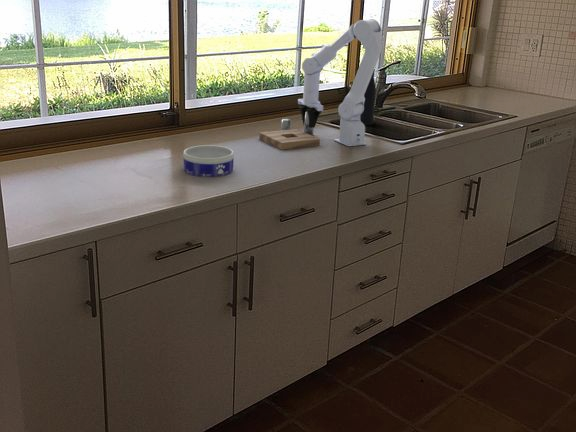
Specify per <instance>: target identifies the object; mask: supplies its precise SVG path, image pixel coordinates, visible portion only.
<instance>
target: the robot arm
mask: <svg viewBox="0 0 576 432" xmlns="http://www.w3.org/2000/svg"><path fill="white" fill-rule="evenodd" d="M382 32H383V29H382V27H381V25H380V23H379V22H378V21H377V20H376V19H374V18H370V19H369V18H368V19H365V20H364V19H360V20H357V21H356V22H355V23H354V24H351V25H350V26H349V27H348V28H347V29H346V30H345V31H344V32H342V34H341V35H340V36H338V37H337V38H336V39H335V41H332V43H330V44H329V43H328V44H327V43H326V44H322V45H321V46H319V47H320V49H319V50H318V51H316V52H315V53H312V54H311V57H307V58H305V59H304V60H303V61H302V64H301V69H302V71H303V72H304V75H303V76H304V79H303V95H302V98H298V99H297V104H298V105H300V106H298V110H299V112H300V115H301V119H302V123H303V126H304V124H305V111H307V112H308V117H309V127H310V128H316V124H317V121H318V118H319V116H320V115H321V113H322V112H323V111H324V105H322V104H321V101H319V95H320V94H319V93H320V92H319V91H320V80H321V79H320V78H321V77H320V76H321V72H322V71H323V69H324V67H326V66H327V64H329V63H330V62H332V61H333V60H334V59H336V57H337V52H338V51H340V50H341V49H342V48H344V47H345V46H346V45H347V44H350V43H351V42H352V41H353V40H356V39H357V40H358V41H359V42H360V43H361V44H362V46H363V49H364V51H365V52H364V53H363V56H362V59H361V62H360V64H359V67H358V69H357V72H356V75H355V77H354V80H353V82H352V85H351V88H350V90H349V92H348V93H347V95H346V96H345V97H344V99H343V101H342V102H341V103H340V104H339V105H338V108H337V110H338V116H340V118H339V119H340V123H339V135H338V136H339V137H338V138H334V139H333V141H335V142H338V143H339V144H342V145H344V146H347V147H355V146H363V145H365V146H366V145H367V143H366V142H365V136H366V135H365V133H366V125H364V124H363V123H362V122H361V120H360V114H362V112H363V111H364V101H365V97H364V94H365V91H366V89H367V86H368V84H369V81H370V79H371V76H372V74H373V71H374V72H375V69H376V66H377V63H378V61H379V58H380V56H381V53H382V51H383V42H382Z"/></svg>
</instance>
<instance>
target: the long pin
mask: <svg viewBox="0 0 576 432" xmlns="http://www.w3.org/2000/svg"><path fill="white" fill-rule="evenodd" d="M314 128H315V127H314ZM314 128H310V127H309V117H308V112H307V111H305V124H304V125H303V132H305V133H307V134H310V135H312V136H314Z"/></svg>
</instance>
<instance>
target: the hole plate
mask: <svg viewBox="0 0 576 432" xmlns="http://www.w3.org/2000/svg"><path fill="white" fill-rule="evenodd" d="M258 136H259V137H258V139H259V140H260V141H263V142H264V143H266V144H268V145H271V146H272V147H275V148H276V149H279V150H280V151H282V150H292V149H300V148H309V147H318V146H320V141H321V139H320V138H318V137H317V136H314V135H313V136H312V135H310V134H307V133H305V132H304V131H302V130H300V129H297V128H295V129H294V128H293V129H292V128H291V130H281V129H280V130H272V131H262V132H261V131H260V132H259V135H258Z"/></svg>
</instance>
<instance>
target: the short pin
mask: <svg viewBox="0 0 576 432" xmlns="http://www.w3.org/2000/svg"><path fill="white" fill-rule="evenodd" d="M280 128H281V129H280V131H281V130H292V119H290V118H282V119H281V127H280Z"/></svg>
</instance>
